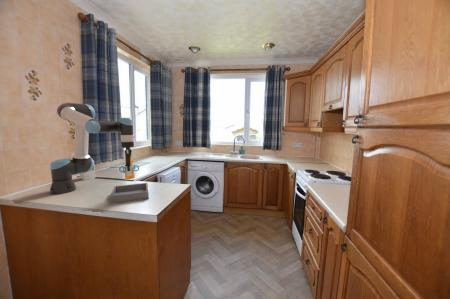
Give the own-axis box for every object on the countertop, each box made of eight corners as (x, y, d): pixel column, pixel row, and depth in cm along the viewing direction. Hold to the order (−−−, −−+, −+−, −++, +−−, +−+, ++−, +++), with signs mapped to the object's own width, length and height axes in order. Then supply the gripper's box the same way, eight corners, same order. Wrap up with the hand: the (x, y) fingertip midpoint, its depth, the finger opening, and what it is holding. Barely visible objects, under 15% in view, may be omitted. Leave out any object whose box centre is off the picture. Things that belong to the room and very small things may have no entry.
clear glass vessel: (84, 180, 179) (82, 161, 177) (79, 178, 184) (77, 160, 182) (95, 178, 187) (94, 160, 185) (91, 176, 192) (89, 159, 190)
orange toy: (130, 181, 130) (129, 157, 128) (116, 180, 132) (115, 157, 130) (142, 176, 142) (141, 155, 140) (129, 175, 144) (127, 154, 142)
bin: (114, 193, 144) (114, 186, 144) (147, 189, 152) (147, 182, 152) (110, 204, 124) (109, 196, 123) (148, 198, 132) (148, 191, 132)
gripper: (133, 142, 124) (135, 177, 127) (134, 140, 146) (136, 169, 149) (119, 142, 122) (121, 178, 124) (122, 140, 143) (124, 170, 146)
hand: (129, 173), depth 136 cm, fingers closed on orange toy, 11 cm apart
